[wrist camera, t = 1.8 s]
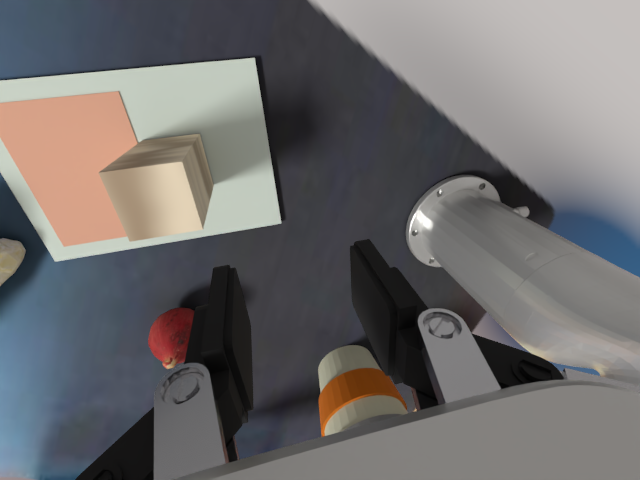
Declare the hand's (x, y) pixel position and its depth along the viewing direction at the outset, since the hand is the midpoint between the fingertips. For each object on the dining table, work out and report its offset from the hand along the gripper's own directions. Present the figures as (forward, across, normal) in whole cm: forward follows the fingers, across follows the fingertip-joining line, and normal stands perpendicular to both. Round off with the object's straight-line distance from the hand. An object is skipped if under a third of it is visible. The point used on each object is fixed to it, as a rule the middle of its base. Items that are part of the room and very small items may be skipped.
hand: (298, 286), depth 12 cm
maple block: (+22, +8, 0) cm, 23 cm away
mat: (+22, +11, 0) cm, 25 cm away
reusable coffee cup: (+23, -7, +35) cm, 42 cm away
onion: (+23, +13, +18) cm, 32 cm away
